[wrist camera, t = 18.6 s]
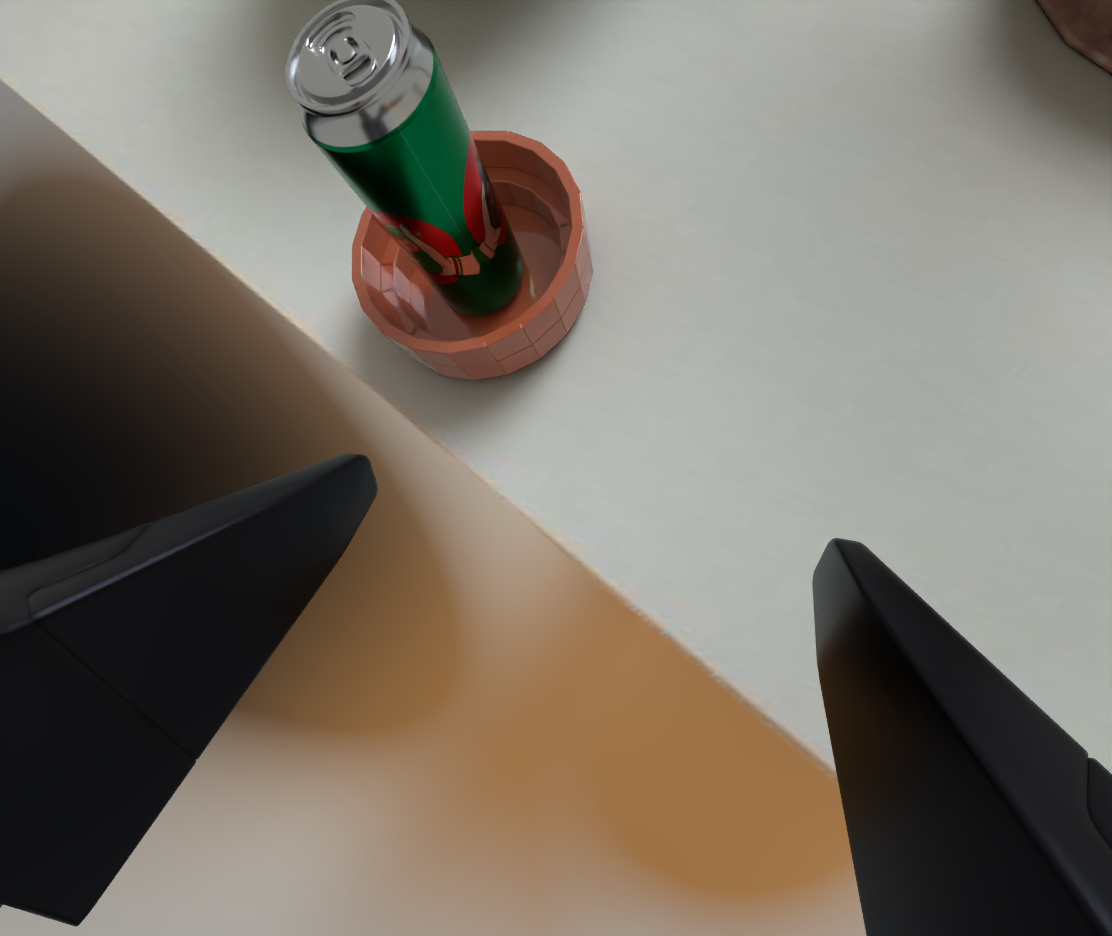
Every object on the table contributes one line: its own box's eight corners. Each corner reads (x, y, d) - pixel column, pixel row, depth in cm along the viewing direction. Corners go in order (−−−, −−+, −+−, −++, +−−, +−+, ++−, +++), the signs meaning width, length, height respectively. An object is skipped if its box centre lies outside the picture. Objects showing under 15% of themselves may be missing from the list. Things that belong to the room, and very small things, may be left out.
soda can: (498, 223, 25) (374, -47, 14) (544, 284, 24) (449, 42, 13) (428, 275, 26) (250, 55, 14) (470, 338, 24) (311, 151, 13)
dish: (520, 420, 24) (496, 395, 20) (358, 330, 27) (309, 294, 23) (633, 231, 24) (631, 172, 20) (461, 166, 27) (431, 103, 24)
